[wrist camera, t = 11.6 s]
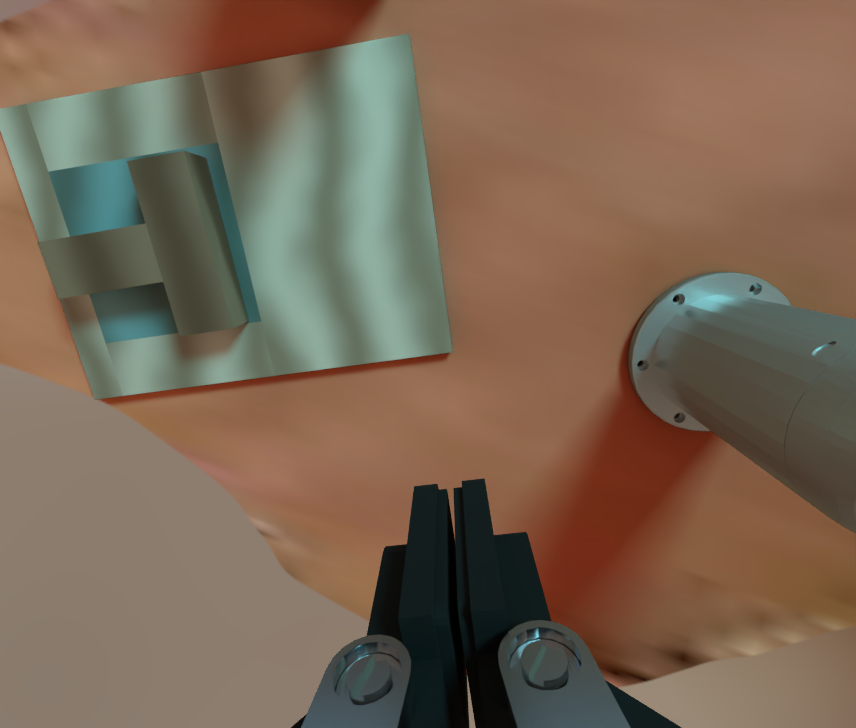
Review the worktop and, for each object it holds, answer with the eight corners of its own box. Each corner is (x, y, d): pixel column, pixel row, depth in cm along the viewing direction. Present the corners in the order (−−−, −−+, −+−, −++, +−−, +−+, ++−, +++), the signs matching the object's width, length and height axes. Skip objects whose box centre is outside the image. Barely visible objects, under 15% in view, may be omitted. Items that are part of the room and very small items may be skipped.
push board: (410, 39, 32) (409, 33, 31) (452, 349, 38) (452, 352, 37) (6, 113, 34) (-7, 110, 33) (103, 395, 40) (94, 399, 39)
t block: (206, 157, 33) (183, 150, 31) (249, 321, 37) (232, 328, 34) (51, 186, 34) (15, 181, 31) (106, 343, 37) (77, 352, 35)
